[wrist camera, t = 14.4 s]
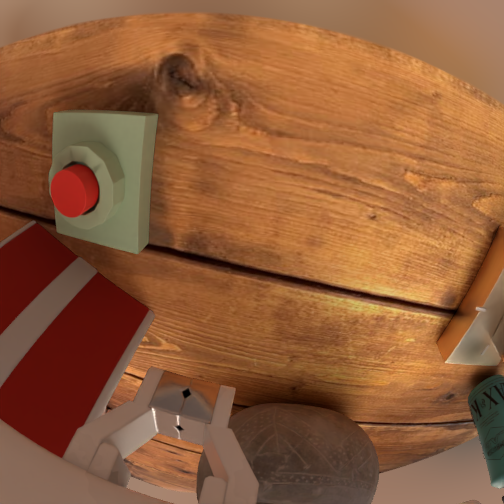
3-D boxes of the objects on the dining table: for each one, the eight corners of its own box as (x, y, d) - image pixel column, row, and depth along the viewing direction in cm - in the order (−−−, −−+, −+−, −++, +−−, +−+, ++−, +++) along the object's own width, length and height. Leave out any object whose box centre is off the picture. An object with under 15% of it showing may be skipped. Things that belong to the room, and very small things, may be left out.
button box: (69, 109, 20) (38, 115, 17) (158, 113, 20) (133, 117, 17) (69, 223, 26) (44, 241, 22) (149, 242, 25) (128, 265, 22)
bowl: (225, 445, 42) (207, 525, 28) (198, 365, 32) (159, 484, 19) (355, 447, 38) (359, 530, 25) (387, 366, 29) (410, 491, 16)
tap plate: (493, 222, 20) (512, 238, 17) (549, 250, 20) (564, 264, 17) (430, 342, 27) (438, 363, 24) (491, 349, 27) (500, 367, 24)
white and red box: (31, 215, 26) (-146, 379, 2) (158, 313, 29) (37, 566, 5) (19, 304, 33) (-85, 435, 10) (115, 377, 36) (38, 538, 13)
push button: (63, 161, 19) (49, 167, 17) (99, 166, 19) (85, 172, 17) (65, 205, 21) (51, 213, 19) (99, 213, 21) (86, 222, 19)
